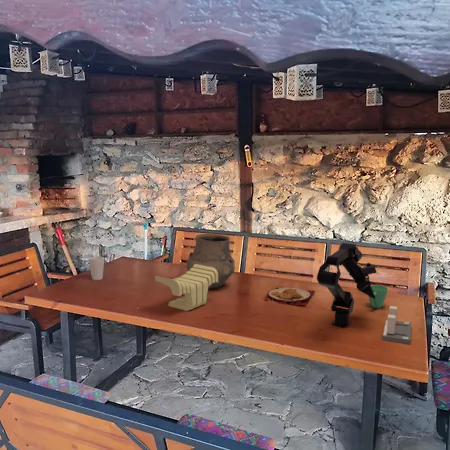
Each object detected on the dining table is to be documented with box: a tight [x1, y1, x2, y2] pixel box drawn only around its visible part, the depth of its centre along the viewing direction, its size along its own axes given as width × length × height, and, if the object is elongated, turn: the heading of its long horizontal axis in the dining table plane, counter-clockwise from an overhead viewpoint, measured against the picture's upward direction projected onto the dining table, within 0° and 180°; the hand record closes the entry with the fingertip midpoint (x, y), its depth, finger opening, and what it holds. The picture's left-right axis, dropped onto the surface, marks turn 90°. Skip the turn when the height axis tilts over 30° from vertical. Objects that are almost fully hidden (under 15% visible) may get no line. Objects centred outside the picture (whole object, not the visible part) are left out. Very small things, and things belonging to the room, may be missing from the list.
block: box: [387, 313, 397, 334], centre depth 196 cm, size 3×4×7 cm
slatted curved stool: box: [154, 264, 218, 312], centre depth 235 cm, size 30×16×18 cm, turn 143°
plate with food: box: [263, 287, 316, 307], centre depth 251 cm, size 25×26×4 cm
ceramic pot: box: [186, 233, 236, 290], centre depth 268 cm, size 28×28×30 cm
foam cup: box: [88, 255, 105, 281], centre depth 284 cm, size 10×9×13 cm
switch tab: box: [388, 305, 398, 325], centre depth 207 cm, size 3×4×7 cm
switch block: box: [381, 318, 412, 345], centre depth 201 cm, size 11×21×2 cm, turn 157°
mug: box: [368, 284, 389, 309], centre depth 232 cm, size 15×10×10 cm
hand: (373, 295), depth 210 cm, fingers open, 9 cm apart
